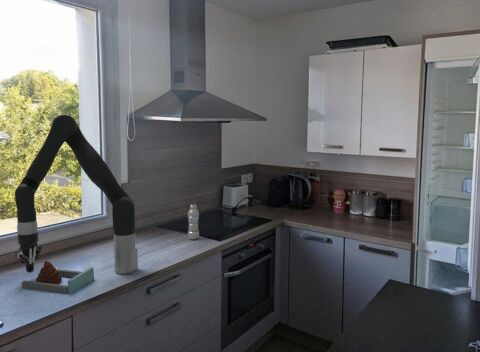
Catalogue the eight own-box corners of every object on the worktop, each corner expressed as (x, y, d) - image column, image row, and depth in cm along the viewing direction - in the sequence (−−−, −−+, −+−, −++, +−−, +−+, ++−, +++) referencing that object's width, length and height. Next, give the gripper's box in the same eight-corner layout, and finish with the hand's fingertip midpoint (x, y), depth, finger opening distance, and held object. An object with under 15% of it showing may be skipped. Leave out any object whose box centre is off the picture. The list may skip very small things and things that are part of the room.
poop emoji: (32, 286, 166) (30, 264, 165) (40, 278, 174) (39, 257, 173) (57, 286, 166) (56, 264, 165) (65, 278, 175) (63, 257, 174)
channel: (94, 278, 174) (94, 267, 174) (70, 293, 159) (70, 281, 158) (49, 273, 180) (48, 262, 179) (21, 287, 164) (21, 275, 164)
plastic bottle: (188, 241, 230) (188, 206, 228) (187, 237, 237) (186, 203, 234) (200, 240, 232) (200, 205, 229) (198, 237, 238) (197, 203, 236)
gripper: (23, 236, 163) (26, 278, 165) (46, 228, 175) (48, 267, 178) (7, 235, 165) (10, 276, 167) (31, 227, 177) (34, 265, 180)
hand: (30, 271), depth 172 cm, fingers closed
